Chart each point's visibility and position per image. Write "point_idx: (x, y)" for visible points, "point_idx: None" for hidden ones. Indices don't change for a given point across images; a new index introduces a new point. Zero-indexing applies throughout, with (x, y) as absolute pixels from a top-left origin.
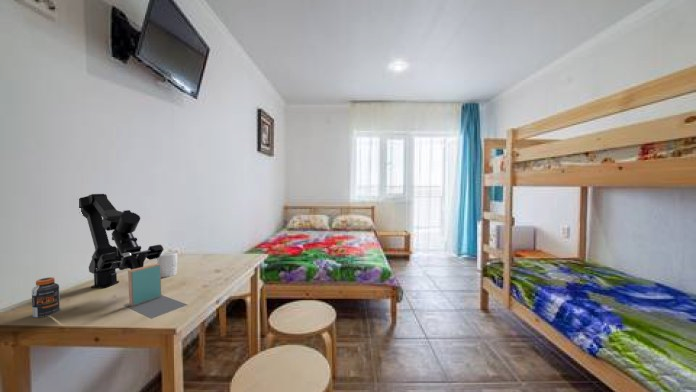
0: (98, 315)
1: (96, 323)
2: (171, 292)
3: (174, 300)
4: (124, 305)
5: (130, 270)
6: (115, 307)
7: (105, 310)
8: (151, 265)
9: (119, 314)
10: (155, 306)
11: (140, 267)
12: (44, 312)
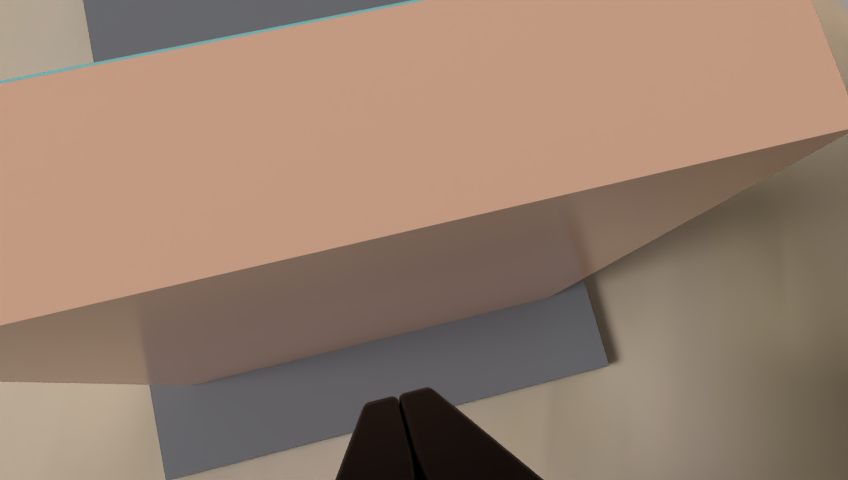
0: (833, 269)
1: (836, 51)
2: (4, 447)
3: (104, 35)
4: (597, 339)
5: (789, 47)
6: (680, 402)
7: (776, 383)
8: (69, 220)
9: None
10: (324, 12)
11: (462, 222)
12: None
